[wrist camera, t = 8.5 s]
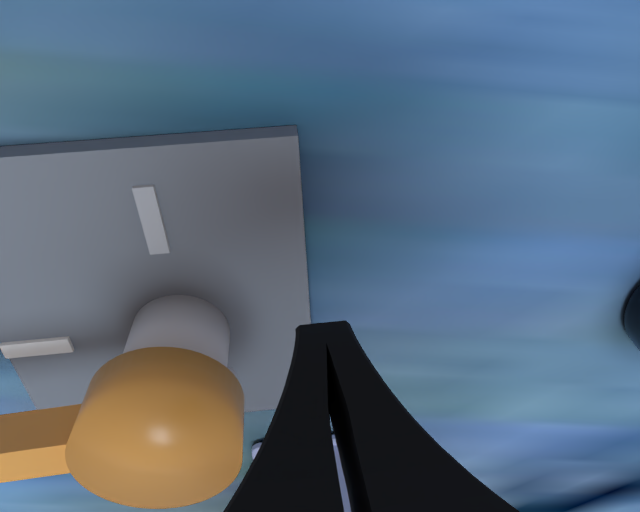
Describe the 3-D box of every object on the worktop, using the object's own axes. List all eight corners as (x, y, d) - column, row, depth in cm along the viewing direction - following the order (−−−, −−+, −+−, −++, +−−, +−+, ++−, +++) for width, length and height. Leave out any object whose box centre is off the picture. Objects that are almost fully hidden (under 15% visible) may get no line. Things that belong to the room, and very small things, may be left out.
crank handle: (228, 336, 18) (224, 391, 16) (255, 438, 21) (255, 496, 19) (-164, 389, 18) (-223, 453, 15) (-74, 485, 21) (-113, 549, 19)
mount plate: (314, 387, 28) (323, 468, 24) (57, 414, 27) (19, 502, 23) (296, 125, 19) (305, 178, 15) (-77, 151, 19) (-174, 216, 14)
